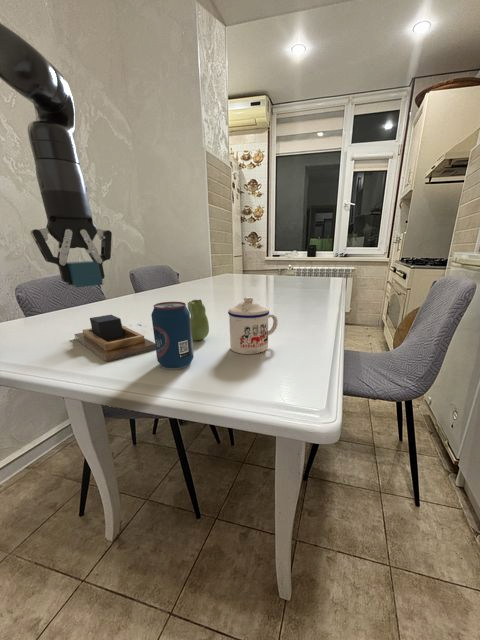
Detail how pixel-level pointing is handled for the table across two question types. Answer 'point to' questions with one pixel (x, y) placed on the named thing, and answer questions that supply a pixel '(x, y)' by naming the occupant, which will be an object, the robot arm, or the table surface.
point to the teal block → (85, 273)
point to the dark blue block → (107, 327)
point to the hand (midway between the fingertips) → (84, 282)
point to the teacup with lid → (250, 327)
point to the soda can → (172, 335)
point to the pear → (198, 320)
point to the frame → (115, 344)
